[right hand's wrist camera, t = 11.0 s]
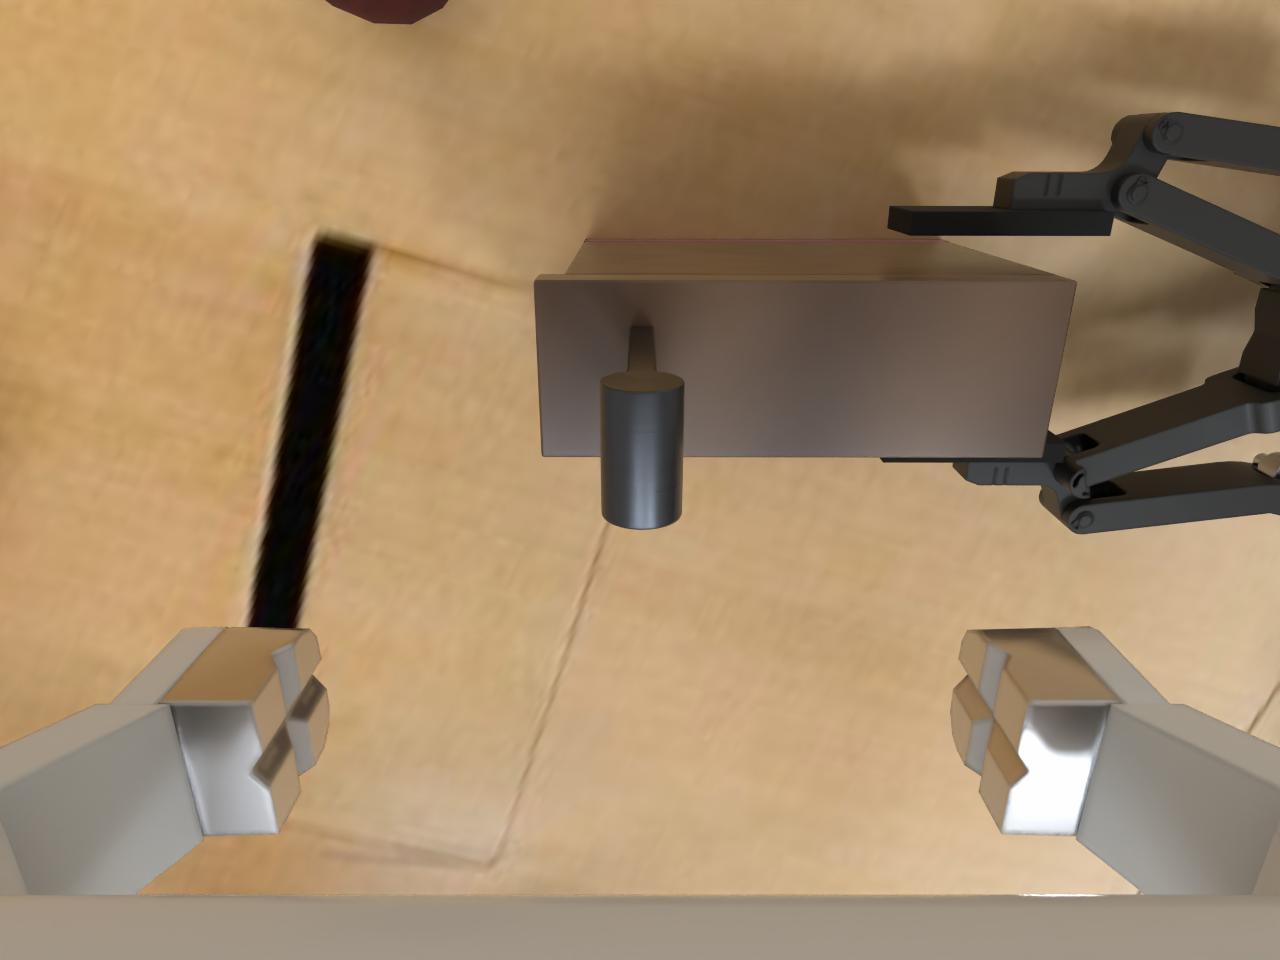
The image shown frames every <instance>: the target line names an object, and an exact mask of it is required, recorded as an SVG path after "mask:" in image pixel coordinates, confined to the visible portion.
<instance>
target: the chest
mask: <svg viewBox="0 0 1280 960" xmlns="http://www.w3.org/2000/svg"><path fill="white" fill-rule="evenodd" d="M565 274H603V275H1055V274H1051V273H1048V272H1045V271H1041V270H1038V269H1035V268H1031V267H1028V266H1025V265H1021V264H1018V263H1015V262H1012V261H1008V260H1005V259H1002V258H998V257H995V256H992V255H988V254H985V253H982V252H978V251H975V250H972V249H968V248H965V247H962V246H959V245H955V244H952V243H949V242H947V241H944V240H860V239H585V241H584V244H583V246H582V247H581V249H580V251H579V252H578V254H577V256H576V257H575V259H574V260H573V262H572V264H571V265H570V267H569V269H568V270H567V272H566V273H565Z"/></svg>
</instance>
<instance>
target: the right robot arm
mask: <svg viewBox="0 0 1280 960" xmlns="http://www.w3.org/2000/svg"><path fill="white" fill-rule="evenodd" d="M320 661H321V654H320V649H319V645H318V640H317V636H316V635H315V634H314V633H313V632H312V631H311V630H310V629H298V628H248V627H232V628H228V627H191V628H187V629H182V630H181V631H180V632H179V633H178V634H177V635H176V636H175V637H174V638H173V639H172V640H171V641H170V642H169V643H168V645H167V646H166V647H165V648H164V649H163V650H162V651H161V652H160V653H159V654H158V655H157V656H156V657H155V658H154V659H153V660H152V661H151V662H150V663H149V664H148V665H147V666H146V667H145V668H144V669H143V670H142V671H141V672H140V673H139V674H138V675H137V676H136V677H135V678H134V679H133V681H132V682H131V683H130V684H129V685H128V686H127V687H126V688H125V689H124V690H123V691H122V692H121V693H120V694H119V695H118V696H117V697H116V698H115V699H114V700H113V701H112V702H111V703H110V704H95V705H93V706H91V707H89V708H87V709H84V710H82V711H80V712H78V713H76V714H73V715H71V716H69V717H67V718H65V719H62V720H60V721H58V722H56V723H54V724H51V725H49V726H47V727H45V728H43V729H41V730H38V731H36V732H34V733H32V734H30V735H27V736H25V737H23V738H21V739H19V740H16V741H14V742H12V743H10V744H8V745H5V746H3V747H1V748H0V960H1280V748H1279V747H1277V746H1274V745H1272V744H1270V743H1268V742H1266V741H1263V740H1261V739H1259V738H1257V737H1255V736H1252V735H1250V734H1248V733H1246V732H1244V731H1242V730H1239V729H1237V728H1235V727H1233V726H1231V725H1228V724H1226V723H1224V722H1222V721H1220V720H1217V719H1215V718H1213V717H1211V716H1209V715H1207V714H1204V713H1202V712H1200V711H1198V710H1196V709H1193V708H1191V707H1189V706H1187V705H1185V704H1170V703H1169V702H1168V701H1167V700H1166V699H1165V698H1164V697H1163V696H1162V695H1161V694H1160V693H1159V692H1158V691H1157V690H1156V689H1155V688H1154V687H1153V686H1152V685H1151V684H1150V682H1149V681H1148V680H1147V679H1146V678H1145V677H1144V676H1143V675H1142V674H1141V673H1140V672H1139V671H1138V670H1137V669H1136V668H1135V667H1134V666H1133V665H1132V664H1131V663H1130V662H1129V661H1128V660H1127V659H1126V658H1125V657H1124V656H1123V655H1122V654H1121V653H1120V652H1119V650H1118V649H1117V648H1116V647H1115V646H1114V645H1113V644H1112V643H1111V642H1110V641H1109V640H1108V639H1107V638H1106V637H1105V636H1104V635H1103V634H1102V633H1101V632H1100V631H1099V630H1097V629H1094V628H1091V627H1089V626H1084V627H1057V628H1028V629H989V630H967V632H966V634H965V636H964V638H963V640H962V643H961V648H960V653H959V661H960V662H961V664H962V665H963V667H964V669H965V670H966V672H967V674H968V675H967V676H966V677H965V678H964V679H963V680H962V681H961V682H960V683H959V684H958V685H957V686H956V687H955V688H954V689H953V695H952V703H951V711H950V714H951V725H952V735H953V738H954V742H955V745H956V748H957V751H958V753H959V755H960V757H961V759H962V761H963V763H964V765H965V766H967V767H968V768H970V769H971V770H973V771H974V772H976V773H977V774H979V775H980V776H981V782H980V787H979V793H980V795H981V797H982V799H983V801H984V802H985V804H986V806H987V808H988V810H989V812H990V814H991V815H992V817H993V819H994V821H995V823H996V825H997V827H998V828H999V830H1000V832H1001V834H1016V835H1053V836H1077V837H1076V840H1077V841H1078V842H1080V843H1081V844H1082V845H1083V846H1085V847H1086V848H1087V849H1088V850H1090V851H1091V852H1092V853H1093V854H1095V855H1096V856H1097V857H1098V858H1100V859H1101V860H1102V861H1104V862H1105V863H1106V864H1107V865H1109V866H1110V867H1111V868H1112V869H1114V870H1115V871H1116V872H1117V873H1119V874H1120V875H1121V876H1122V877H1124V878H1125V879H1126V880H1127V881H1129V882H1130V883H1131V884H1132V885H1134V886H1135V887H1136V888H1137V889H1139V890H1140V891H1141V892H1142V893H1144V894H1145V895H135V894H137V893H138V892H139V891H140V890H142V889H143V888H144V887H145V886H147V885H148V884H149V883H150V882H152V881H153V880H154V879H155V878H157V877H158V876H159V875H160V874H162V873H163V872H164V871H165V870H167V869H168V868H169V867H171V866H172V865H173V864H174V863H176V862H177V861H178V860H179V859H181V858H182V857H183V856H184V855H186V854H187V853H188V852H189V851H191V850H192V849H193V848H194V847H196V846H197V845H198V844H199V843H201V842H202V841H203V840H204V837H203V836H226V835H262V834H279V832H280V830H281V829H282V827H283V825H284V823H285V821H286V819H287V817H288V816H289V814H290V812H291V810H292V808H293V806H294V804H295V803H296V801H297V799H298V797H299V795H300V793H301V787H300V782H299V776H300V775H301V774H303V773H304V772H306V771H307V770H309V769H310V768H312V767H313V766H315V765H316V763H317V761H318V759H319V757H320V755H321V753H322V751H323V749H324V746H325V741H326V737H327V732H328V728H329V701H328V695H327V689H326V688H325V687H324V686H323V685H322V684H321V683H320V682H319V681H318V680H317V679H316V678H315V677H314V676H313V675H312V674H313V672H314V670H315V669H316V667H317V665H318V664H319V662H320Z"/></svg>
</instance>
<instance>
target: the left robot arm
mask: <svg viewBox="0 0 1280 960" xmlns="http://www.w3.org/2000/svg"><path fill="white" fill-rule="evenodd" d="M1111 141H1112V146H1111V148H1110V150H1109V152H1108V154H1107V156H1106V157H1105V159H1104V160H1103V161H1102V162H1101V163H1100V164H1099V165H1098V166H1097V167H1095V168H1094V169H1091V170H1089V171H1084V172H1011V173H1009V174H1006V175H1004V176H1001V177H999V178H997V185H996V191H995V198H994V204H993V206H890V209H889V218H888V227H887V228H888V229H891V230H895V231H898V232H901V233H904V234H907V235H910V236H1110V234H1111V229H1112V224H1113V219H1114V218H1116V219H1118V220H1120V221H1122V222H1125V223H1127V224H1129V225H1131V226H1134V227H1136V228H1138V229H1140V230H1143V231H1145V232H1147V233H1149V234H1152V235H1154V236H1156V237H1158V238H1161V239H1163V240H1165V241H1167V242H1170V243H1172V244H1174V245H1176V246H1179V247H1181V248H1183V249H1185V250H1188V251H1190V252H1192V253H1194V254H1197V255H1199V256H1201V257H1203V258H1206V259H1208V260H1210V261H1212V262H1215V263H1217V264H1219V265H1221V266H1224V267H1226V268H1228V269H1230V270H1232V271H1234V273H1235V274H1237V275H1239V276H1241V277H1243V278H1246V279H1248V280H1250V281H1252V282H1255V283H1257V284H1259V285H1261V286H1264V287H1266V288H1261V290H1260V293H1259V297H1258V300H1257V304H1256V307H1255V330H1254V333H1253V335H1252V337H1251V338H1250V340H1249V342H1248V344H1247V346H1246V347H1245V349H1244V351H1243V354H1242V357H1241V361H1240V365H1239V367H1237V368H1234V369H1231V370H1228V371H1225V372H1222V373H1219V374H1216V375H1213V376H1211V377H1208V378H1207V379H1206V380H1205V384H1204V385H1202V386H1199V387H1196V388H1193V389H1190V390H1187V391H1185V392H1182V393H1179V394H1176V395H1173V396H1170V397H1167V398H1164V399H1161V400H1158V401H1155V402H1152V403H1149V404H1146V405H1143V406H1140V407H1138V408H1135V409H1132V410H1129V411H1126V412H1123V413H1120V414H1117V415H1114V416H1111V417H1108V418H1105V419H1102V420H1099V421H1096V422H1093V423H1091V424H1088V425H1085V426H1082V427H1079V428H1076V429H1073V430H1070V431H1067V432H1064V433H1061V434H1058V435H1055V434H1053V433H1052V432H1050V431H1049V430H1048V432H1047V437H1046V442H1045V447H1044V452H1043V456H1042V457H1041V458H919V457H879V458H880V459H881V460H882V461H883V462H937V463H953V468H954V469H955V470H956V471H957V472H958V473H959V474H960V475H961V476H962V477H963V478H964V479H965V480H967V481H969V482H972V483H974V484H977V485H1041V488H1042V490H1041V491H1040V494H1039V500H1040V503H1041V504H1042V505H1043V506H1044V507H1045V508H1046V509H1047V510H1048V511H1049V512H1051V513H1052V514H1053V515H1054V516H1055V517H1056V518H1057V519H1058V520H1060V521H1061V522H1062V523H1063V524H1064V525H1065V526H1066V527H1067V528H1069V529H1070V530H1071V531H1072V532H1074V533H1076V534H1089V533H1098V532H1107V531H1115V530H1124V529H1133V528H1142V527H1151V526H1160V525H1169V524H1177V523H1186V522H1195V521H1204V520H1213V519H1222V518H1230V517H1239V516H1248V515H1257V514H1266V513H1272V514H1277V515H1280V452H1274V453H1271V454H1269V455H1267V454H1264V453H1261V454H1258V455H1257V456H1255V458H1254V459H1253V463H1247V462H1236V461H1227V462H1215V463H1206V464H1197V465H1189V466H1180V467H1172V468H1163V469H1154V470H1146V471H1137V470H1140V469H1143V468H1146V467H1149V466H1152V465H1155V464H1158V463H1161V462H1164V461H1167V460H1170V459H1173V458H1176V457H1179V456H1183V455H1186V454H1189V453H1192V452H1195V451H1198V450H1201V449H1204V448H1207V447H1210V446H1213V445H1216V444H1219V443H1222V442H1225V441H1228V440H1231V439H1234V438H1237V437H1240V436H1243V435H1246V434H1250V433H1264V434H1267V433H1275V432H1279V431H1280V235H1279V234H1277V233H1275V232H1273V231H1271V230H1268V229H1266V228H1264V227H1262V226H1260V225H1257V224H1255V223H1253V222H1251V221H1249V220H1246V219H1244V218H1242V217H1240V216H1238V215H1235V214H1233V213H1231V212H1229V211H1227V210H1224V209H1222V208H1220V207H1218V206H1216V205H1214V204H1211V203H1209V202H1207V201H1205V200H1203V199H1200V198H1198V197H1196V196H1194V195H1192V194H1189V193H1187V192H1185V191H1183V190H1181V189H1178V188H1176V187H1174V186H1172V185H1170V184H1167V183H1165V182H1163V181H1161V180H1159V179H1156V178H1157V177H1158V175H1159V173H1160V171H1161V170H1162V168H1163V166H1164V164H1165V163H1166V161H1167V160H1174V161H1181V162H1188V163H1195V164H1202V165H1209V166H1215V167H1222V168H1229V169H1236V170H1243V171H1250V172H1256V173H1263V174H1270V175H1277V176H1280V127H1276V126H1269V125H1262V124H1256V123H1249V122H1242V121H1235V120H1229V119H1222V118H1215V117H1209V116H1202V115H1195V114H1189V113H1182V112H1172V113H1152V114H1139V115H1129V116H1126V117H1124V118H1122V119H1121V120H1120V121H1119V122H1118V123H1117V124H1116V125H1115V127H1114V129H1113V131H1112V136H1111ZM1134 471H1137V472H1134Z"/></svg>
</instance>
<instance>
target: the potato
mask: <svg viewBox="0 0 1280 960" xmlns="http://www.w3.org/2000/svg"><path fill="white" fill-rule="evenodd" d="M326 1H327V2H328V3H330V4H331V5H332V6H334V7H337V8H339V9H342V10H344V11H346V12H349V13H351V14H354V15H356V16H358V17H361V18H363V19H365V20H368V21H370V22H373V23H385V24H413V23H415V22H417V21H419V20H421V19H422V18H424V17H426V16H428V15H430V14H432V13H434V12H436V11H438V10H439V9H441V8H443V7H444V5H445V4H446V3H447V1H448V0H326Z"/></svg>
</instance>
